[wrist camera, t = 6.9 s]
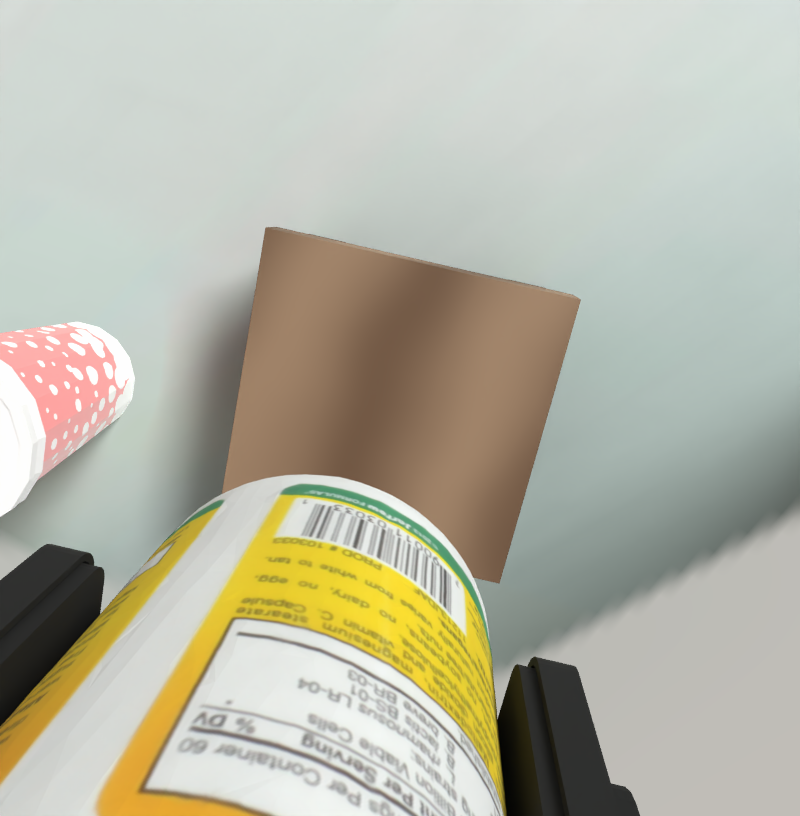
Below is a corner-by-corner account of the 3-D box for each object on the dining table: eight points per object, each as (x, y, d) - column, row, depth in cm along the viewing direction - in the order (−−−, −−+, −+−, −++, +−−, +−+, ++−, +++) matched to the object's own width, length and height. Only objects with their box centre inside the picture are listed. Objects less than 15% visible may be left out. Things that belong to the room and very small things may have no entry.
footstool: (553, 283, 28) (580, 299, 22) (489, 514, 30) (499, 583, 25) (303, 226, 28) (265, 227, 22) (261, 461, 30) (217, 517, 25)
